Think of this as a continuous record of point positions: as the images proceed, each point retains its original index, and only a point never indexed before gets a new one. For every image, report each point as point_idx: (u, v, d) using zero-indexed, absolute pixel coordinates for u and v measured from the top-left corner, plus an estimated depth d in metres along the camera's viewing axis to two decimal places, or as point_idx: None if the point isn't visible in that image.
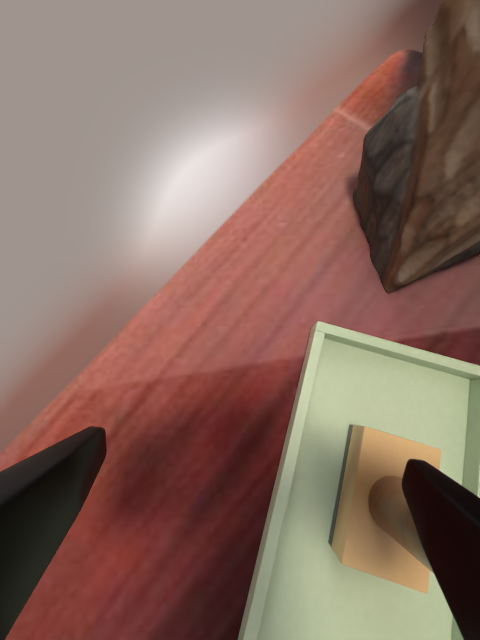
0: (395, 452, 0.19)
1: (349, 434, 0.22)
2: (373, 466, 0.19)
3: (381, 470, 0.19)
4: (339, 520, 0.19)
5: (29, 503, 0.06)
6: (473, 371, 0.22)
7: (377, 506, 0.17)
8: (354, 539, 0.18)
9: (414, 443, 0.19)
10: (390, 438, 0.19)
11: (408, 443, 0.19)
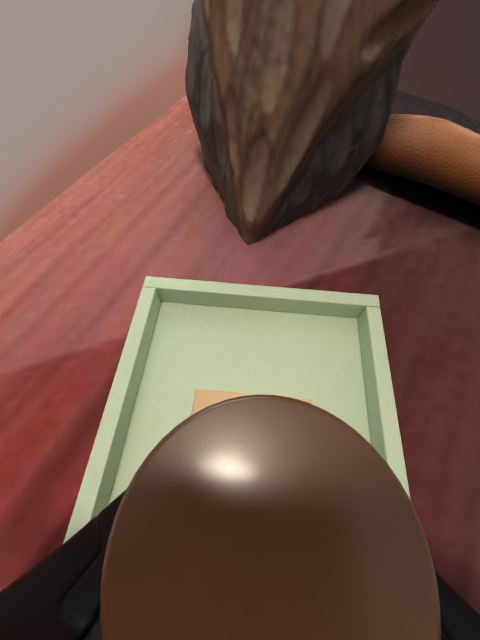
0: None
1: None
2: None
3: None
4: None
5: None
6: (350, 301, 0.17)
7: None
8: None
9: None
10: None
11: None
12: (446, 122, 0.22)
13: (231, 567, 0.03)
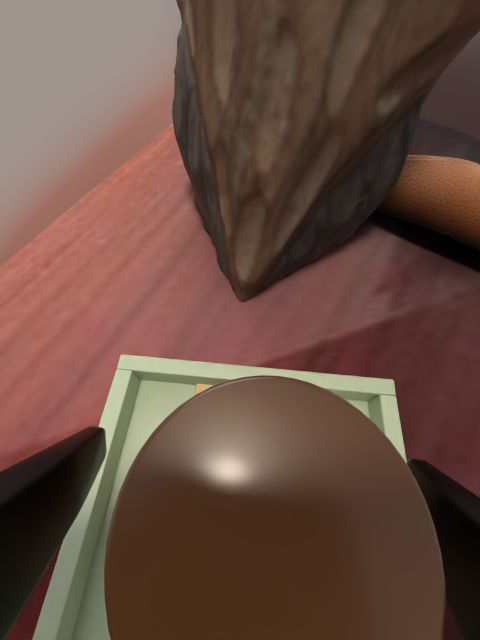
0: None
1: None
2: None
3: None
4: None
5: (29, 503, 0.06)
6: (361, 387, 0.14)
7: None
8: None
9: None
10: None
11: None
12: (467, 164, 0.19)
13: (235, 542, 0.03)
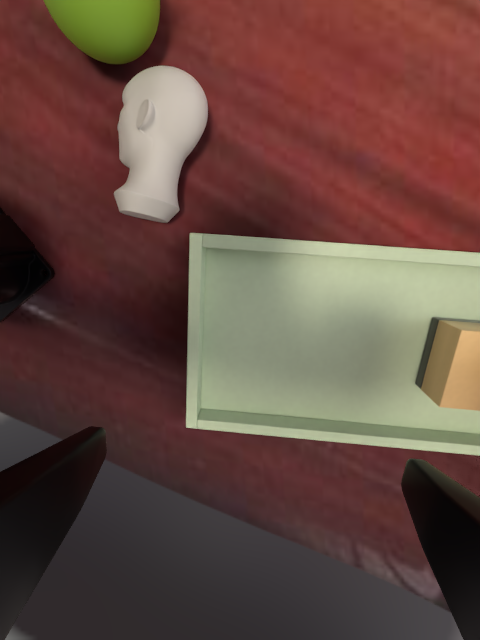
0: None
1: None
2: None
3: None
4: (475, 325, 0.18)
5: (29, 503, 0.06)
6: None
7: None
8: None
9: None
10: None
11: None
12: None
13: None
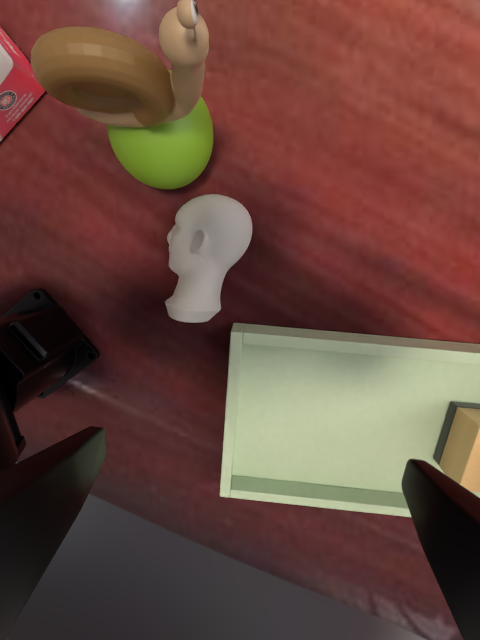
0: None
1: None
2: None
3: None
4: None
5: (29, 503, 0.06)
6: None
7: None
8: None
9: None
10: None
11: None
12: None
13: None
